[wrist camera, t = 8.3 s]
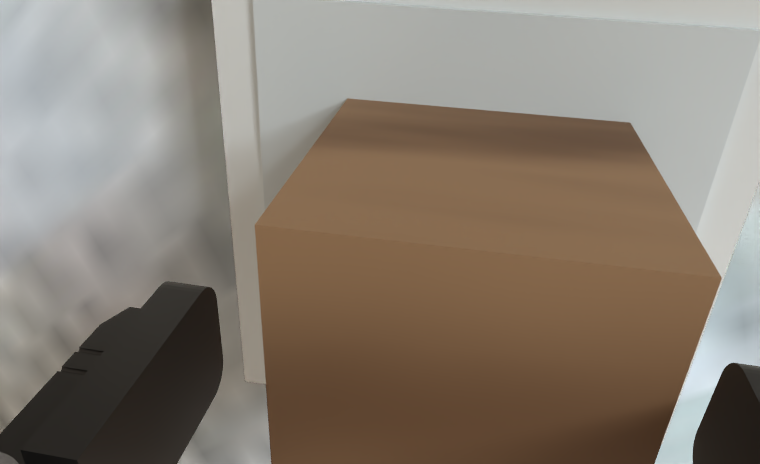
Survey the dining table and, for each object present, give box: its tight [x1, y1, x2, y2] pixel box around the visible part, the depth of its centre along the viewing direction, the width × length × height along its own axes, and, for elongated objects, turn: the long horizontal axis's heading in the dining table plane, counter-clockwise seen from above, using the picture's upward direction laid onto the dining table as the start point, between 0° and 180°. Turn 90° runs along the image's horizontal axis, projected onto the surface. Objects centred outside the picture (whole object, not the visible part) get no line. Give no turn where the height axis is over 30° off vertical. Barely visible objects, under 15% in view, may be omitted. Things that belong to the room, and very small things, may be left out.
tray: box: [211, 0, 760, 444], centre depth 16 cm, size 12×12×3 cm
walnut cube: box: [255, 98, 722, 464], centre depth 12 cm, size 6×6×6 cm
